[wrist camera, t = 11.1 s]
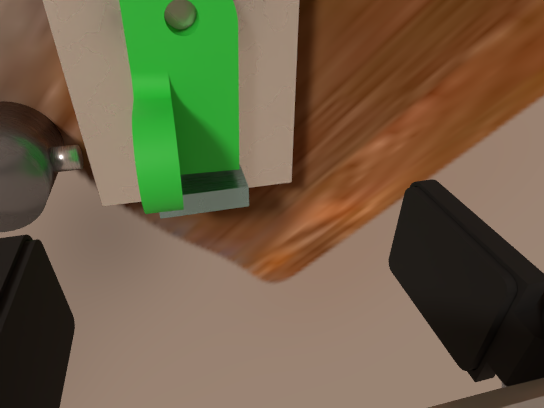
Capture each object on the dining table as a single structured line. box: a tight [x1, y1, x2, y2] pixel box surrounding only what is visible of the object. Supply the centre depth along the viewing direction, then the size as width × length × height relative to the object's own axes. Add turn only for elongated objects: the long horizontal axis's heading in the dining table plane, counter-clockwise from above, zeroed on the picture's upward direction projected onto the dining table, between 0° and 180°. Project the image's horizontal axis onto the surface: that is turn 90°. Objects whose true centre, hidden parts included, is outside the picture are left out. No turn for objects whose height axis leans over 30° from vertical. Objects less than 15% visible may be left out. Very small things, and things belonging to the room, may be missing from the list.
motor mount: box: [0, 0, 299, 232], centre depth 23 cm, size 22×18×6 cm
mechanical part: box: [119, 0, 239, 214], centre depth 21 cm, size 12×6×8 cm, turn 178°
